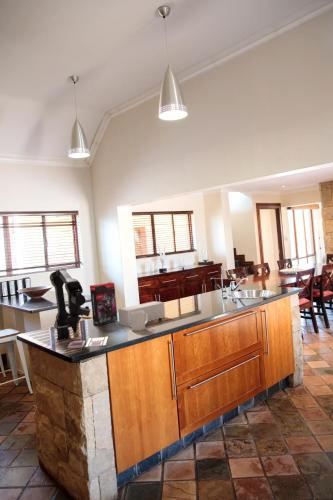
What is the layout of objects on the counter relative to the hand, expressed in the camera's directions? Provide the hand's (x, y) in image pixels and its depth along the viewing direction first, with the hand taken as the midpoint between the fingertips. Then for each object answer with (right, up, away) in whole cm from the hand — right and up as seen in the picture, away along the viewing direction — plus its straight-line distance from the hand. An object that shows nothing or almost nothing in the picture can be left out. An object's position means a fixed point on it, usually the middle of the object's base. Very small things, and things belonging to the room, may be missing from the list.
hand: (76, 331), depth 205 cm
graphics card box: (+7, -6, +53) cm, 54 cm away
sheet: (+11, -7, +6) cm, 14 cm away
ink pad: (0, -8, 0) cm, 8 cm away
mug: (+33, -5, +28) cm, 44 cm away
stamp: (0, -4, 0) cm, 4 cm away
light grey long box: (+33, -4, +53) cm, 63 cm away
